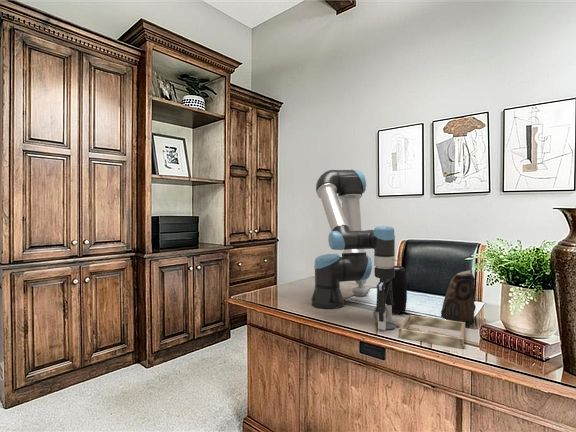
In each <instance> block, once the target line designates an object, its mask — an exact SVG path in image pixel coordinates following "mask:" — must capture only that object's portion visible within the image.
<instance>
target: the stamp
mask: <svg viewBox="0 0 576 432" xmlns="http://www.w3.org/2000/svg"><path fill="white" fill-rule="evenodd" d="M354 282H355V284H356V285H358V286H356V287H353V288H352V290H351V291H352V293H353V294H354V295H355V296H358V297H365V296H367V295H369V293H370V291H371V290H370V288H369V287H367V286H365V287H364V285H366V282H367V279H366V280H361V281H354Z"/></svg>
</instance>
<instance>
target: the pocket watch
mask: <svg viewBox="0 0 576 432" xmlns="http://www.w3.org/2000/svg"><path fill="white" fill-rule="evenodd" d="M375 310H376V307H375V308H374V309H373V311H372V312H373V313H372V316H373V319H374V320H375V321H376V322H377V323H378V312H375ZM385 312H386V318H387V315H388V310H387V308H386V307H385ZM396 327H397V325H396V324H395V323H394V322H386V330H393V329H395V328H396Z"/></svg>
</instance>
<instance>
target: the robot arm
mask: <svg viewBox="0 0 576 432" xmlns="http://www.w3.org/2000/svg"><path fill="white" fill-rule="evenodd" d="M366 187H367V180H366V177H365V175H364V173H363V171H361V170H358V169H330V170H326V171H324V172H323V173H321V175H320V176H319V177H318V179H317V181H316V184H315V191H316V195H317V197H318V198H319V199H320V200H321V203H322V206H323V209H324V210H323V211H324V213H325V215H326V219H327V221H328V225H329V228H330V231H331V232H329V234H328V246H329V248H330V249H331V250H333V251H334V250H335V251H342V252H341V256H340V255H339V254H338V253H327V254H322V255H318V256H317V257H316V258H315V259H314V267H313V268H314V289H313V290H314V291H313V292H312V296H311V305H312V306H313V307H314V308H317V309H324V310H325V309H330V310H331V309H339V308H342V307H344V296H343V294H342V291H341V289H340V287H341V286H340V283H342V282H355V281H361V280H366V281H367V280H368V279H369V278H370V276H371V274H372V269H373V264H374V271H373V272H374V277H375V278H376V279H379V282H378V284H376V303H375V304H376V307H375V308H376V310H375V312H378V322H377V329H378V330H382V331H386V330H387V329H386V322H391V323H393V314H392V306H391V305H394V303H393V294H392V278H394V277H395V268H394V266H396V265H395V264H396V262H397V259H396V257H395V256H396V255H395V254H396V247H395V246H396V245H395V244H396V235H395V228H394V227H392V226H386V225H385V226H384V225H383V226H375V227H374V229H366V230H362V217H361V205H360V204H361V203H360V199H362V197H363V194H364V193H365V192H366V190H367V188H366ZM340 201H341V203H340ZM369 249H371V250H373V252H374V255H373V258H374V259H373V260H374V261H373V262H372V258H371V257H370V256H369V255H367V251H366V250H369ZM372 263H373V264H372ZM385 307H386V308H387V310H388V315H387V318H386V312H385Z"/></svg>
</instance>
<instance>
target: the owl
mask: <svg viewBox="0 0 576 432" xmlns="http://www.w3.org/2000/svg"><path fill="white" fill-rule="evenodd" d="M475 281H476V278H475V277H474V274H473V270H472V269H469V270H465V271H461V272H457V273H456V274H455V275H454V276H453V277H452V278H451V280H450V282H449V285H448V288H447V289H446V290H447V291H446V293H445V296H444V300H443V302H442V307H441V310H440V317H441V318H442V317H443V318H442V319H444V320H445V319H446V320H451V321H458V322H465V327H469V326H470V325H473V323H475V321H474V320H475V311H476V304H475V301H476V290H475Z"/></svg>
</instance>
